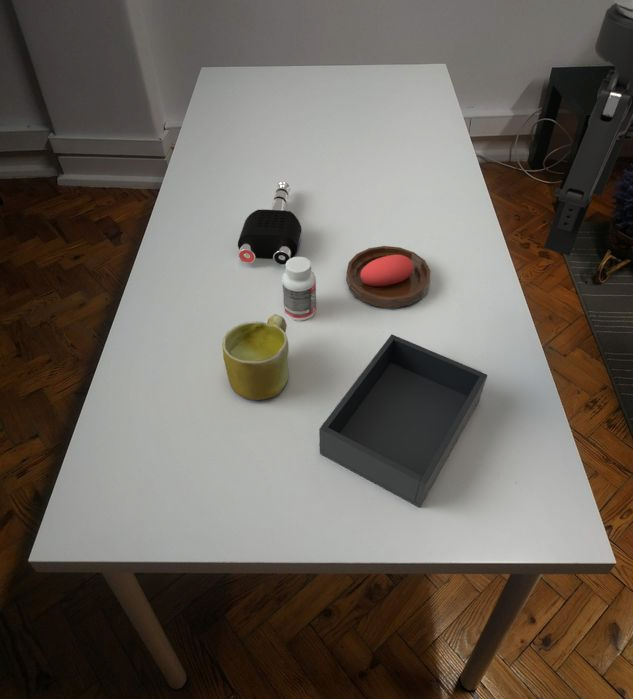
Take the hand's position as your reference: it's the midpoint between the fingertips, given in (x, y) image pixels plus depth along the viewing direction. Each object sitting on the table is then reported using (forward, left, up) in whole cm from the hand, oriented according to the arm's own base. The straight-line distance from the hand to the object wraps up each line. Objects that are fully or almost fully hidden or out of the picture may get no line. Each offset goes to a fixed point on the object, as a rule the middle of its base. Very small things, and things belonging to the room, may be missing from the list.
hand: (574, 219), depth 63 cm
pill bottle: (+35, +6, -27) cm, 45 cm away
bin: (+10, +18, -27) cm, 34 cm away
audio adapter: (+52, -11, -27) cm, 60 cm away
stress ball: (+26, -8, -26) cm, 38 cm away
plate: (+26, -8, -27) cm, 38 cm away
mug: (+32, +20, -27) cm, 46 cm away
